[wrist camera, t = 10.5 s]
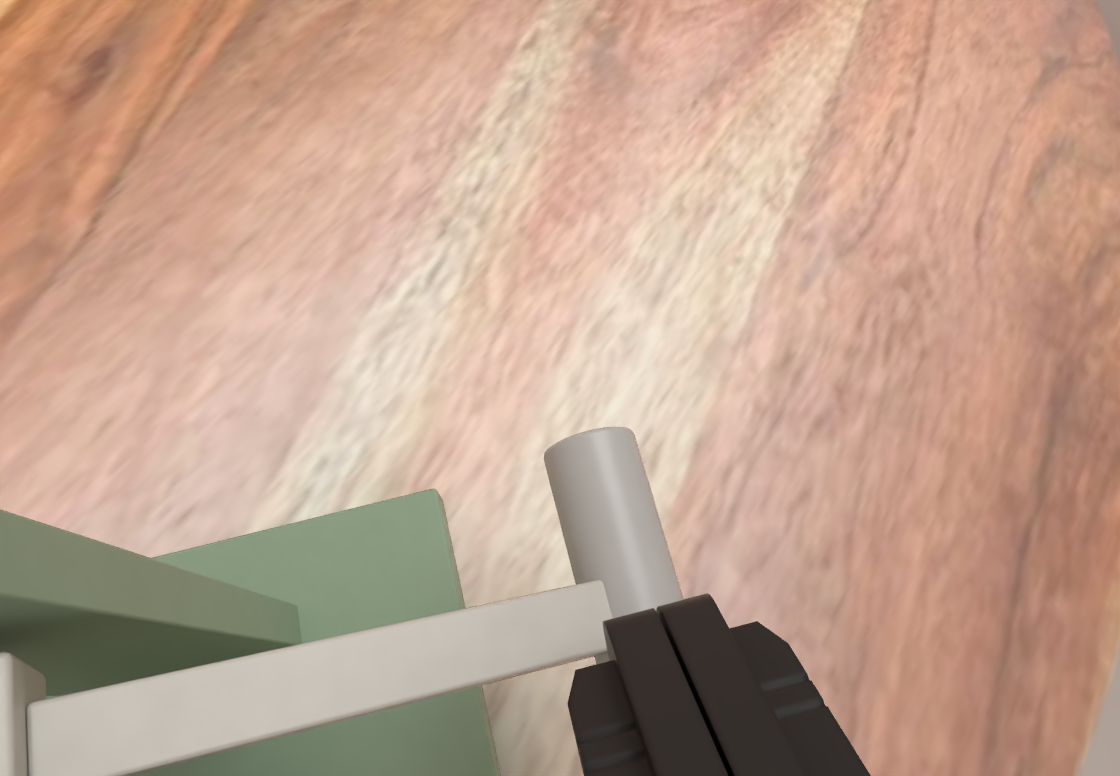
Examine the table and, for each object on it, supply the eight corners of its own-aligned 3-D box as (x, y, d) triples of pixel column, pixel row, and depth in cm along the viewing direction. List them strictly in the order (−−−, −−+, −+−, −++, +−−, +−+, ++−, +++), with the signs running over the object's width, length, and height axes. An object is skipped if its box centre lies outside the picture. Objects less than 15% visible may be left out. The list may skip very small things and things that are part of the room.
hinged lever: (602, 458, 16) (657, 412, 14) (694, 785, 14) (774, 786, 12) (-204, 575, 11) (-297, 530, 9) (-236, 1115, 9) (-363, 1210, 7)
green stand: (441, 497, 22) (305, 266, 10) (520, 870, 19) (460, 1183, 7) (-24, 612, 21) (-807, 509, 9) (-17, 1027, 18) (-1176, 1712, 6)
